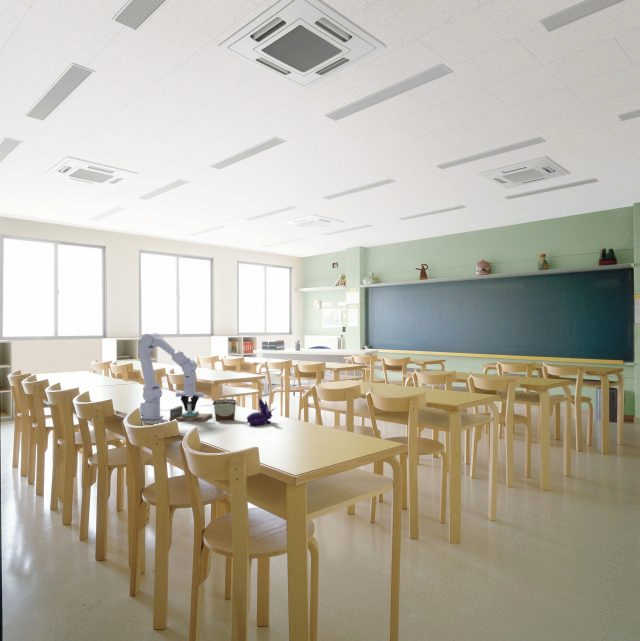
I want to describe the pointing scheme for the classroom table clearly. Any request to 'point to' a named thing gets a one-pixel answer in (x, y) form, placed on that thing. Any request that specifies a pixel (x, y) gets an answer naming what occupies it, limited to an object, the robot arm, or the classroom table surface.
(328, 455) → the classroom table surface
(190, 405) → the teal plate with post
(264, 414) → the creature
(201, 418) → the bench base
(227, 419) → the food container
